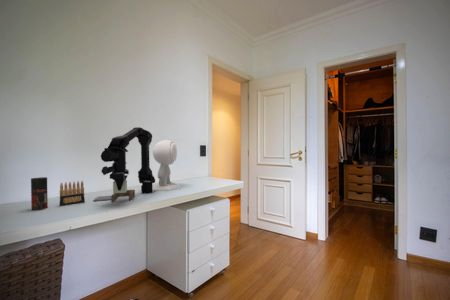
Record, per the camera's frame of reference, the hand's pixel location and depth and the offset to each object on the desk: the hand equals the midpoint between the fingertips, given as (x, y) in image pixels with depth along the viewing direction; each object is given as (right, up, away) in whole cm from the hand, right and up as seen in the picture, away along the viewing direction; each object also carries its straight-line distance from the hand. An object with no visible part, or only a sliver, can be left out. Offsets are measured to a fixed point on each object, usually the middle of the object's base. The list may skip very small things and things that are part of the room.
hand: (120, 189), depth 113 cm
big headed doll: (+12, -7, +41) cm, 43 cm away
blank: (0, -1, 0) cm, 1 cm away
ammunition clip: (-24, -8, -2) cm, 26 cm away
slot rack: (-3, -7, +10) cm, 12 cm away
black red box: (-34, -8, -10) cm, 37 cm away
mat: (-13, -7, +9) cm, 17 cm away
